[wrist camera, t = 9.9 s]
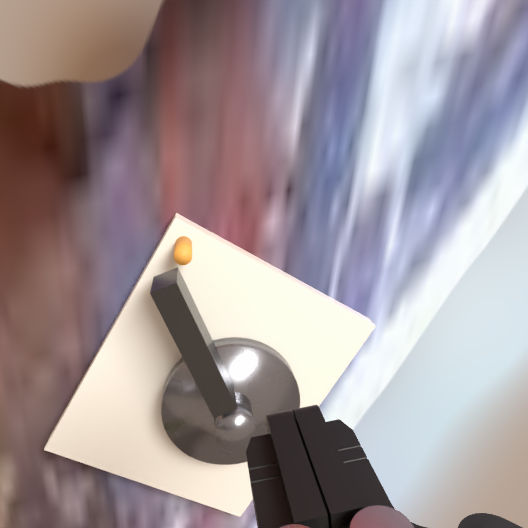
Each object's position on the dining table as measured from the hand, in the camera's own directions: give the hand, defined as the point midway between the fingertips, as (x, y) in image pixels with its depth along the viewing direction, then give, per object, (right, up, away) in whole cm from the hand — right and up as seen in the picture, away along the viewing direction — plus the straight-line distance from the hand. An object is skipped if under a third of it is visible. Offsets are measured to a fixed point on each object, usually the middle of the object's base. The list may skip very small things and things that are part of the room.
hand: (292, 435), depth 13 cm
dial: (-5, -3, +23) cm, 23 cm away
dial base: (-5, -5, +25) cm, 26 cm away
